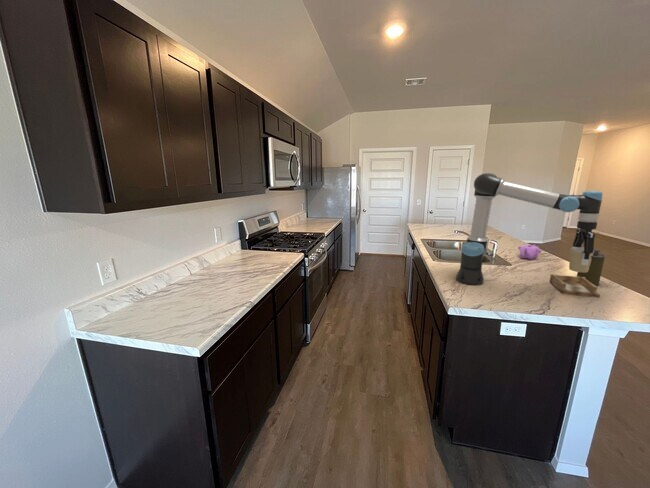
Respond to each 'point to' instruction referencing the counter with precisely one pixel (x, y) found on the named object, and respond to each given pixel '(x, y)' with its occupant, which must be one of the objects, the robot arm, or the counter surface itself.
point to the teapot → (529, 251)
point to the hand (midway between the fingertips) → (579, 262)
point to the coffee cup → (578, 260)
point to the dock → (573, 285)
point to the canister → (594, 268)
